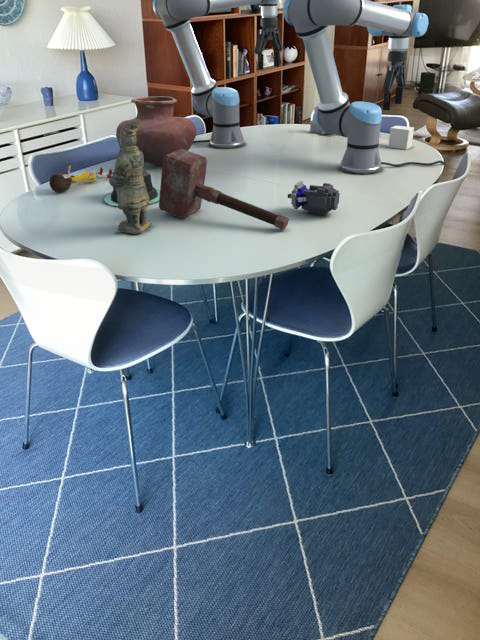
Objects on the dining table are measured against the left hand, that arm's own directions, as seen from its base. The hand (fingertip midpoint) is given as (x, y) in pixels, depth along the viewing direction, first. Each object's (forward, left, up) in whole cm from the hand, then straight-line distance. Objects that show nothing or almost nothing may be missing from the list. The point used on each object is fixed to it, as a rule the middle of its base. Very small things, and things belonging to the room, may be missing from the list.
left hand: (268, 68), depth 261 cm
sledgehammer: (+31, -125, -28) cm, 132 cm away
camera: (+29, +1, -28) cm, 40 cm away
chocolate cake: (-6, -114, -28) cm, 118 cm away
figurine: (-32, -109, -28) cm, 117 cm away
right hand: (+62, -22, -11) cm, 67 cm away
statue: (+9, -140, -28) cm, 143 cm away
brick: (+67, -16, -28) cm, 74 cm away
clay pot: (-20, -74, -28) cm, 81 cm away
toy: (+54, -109, -28) cm, 125 cm away
